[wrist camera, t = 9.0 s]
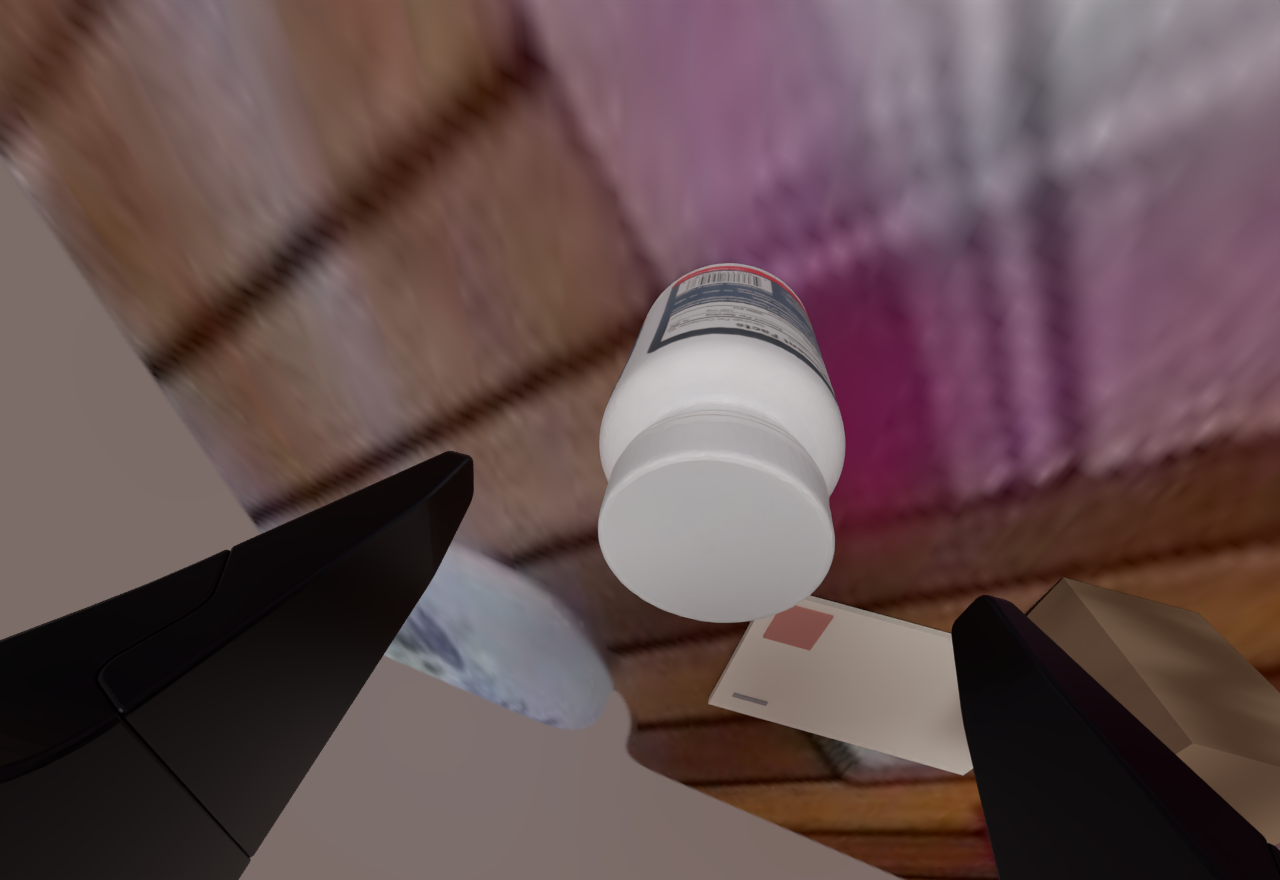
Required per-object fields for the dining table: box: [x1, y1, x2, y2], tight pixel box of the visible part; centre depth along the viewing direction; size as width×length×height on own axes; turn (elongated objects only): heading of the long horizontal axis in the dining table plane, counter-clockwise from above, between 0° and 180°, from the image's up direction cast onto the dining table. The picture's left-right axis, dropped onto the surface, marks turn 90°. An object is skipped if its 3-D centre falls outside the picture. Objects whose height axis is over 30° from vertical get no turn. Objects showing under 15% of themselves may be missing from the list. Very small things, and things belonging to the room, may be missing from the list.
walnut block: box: [1027, 578, 1280, 845], centre depth 17 cm, size 5×5×6 cm
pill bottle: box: [598, 263, 845, 623], centre depth 12 cm, size 5×5×9 cm
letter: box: [708, 596, 973, 775], centre depth 24 cm, size 14×10×1 cm
